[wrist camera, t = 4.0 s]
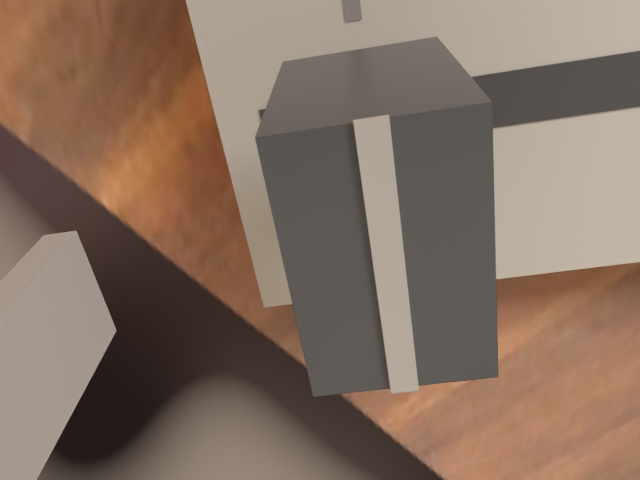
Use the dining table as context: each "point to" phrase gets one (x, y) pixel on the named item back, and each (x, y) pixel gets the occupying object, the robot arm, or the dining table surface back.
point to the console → (497, 83)
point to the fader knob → (385, 215)
